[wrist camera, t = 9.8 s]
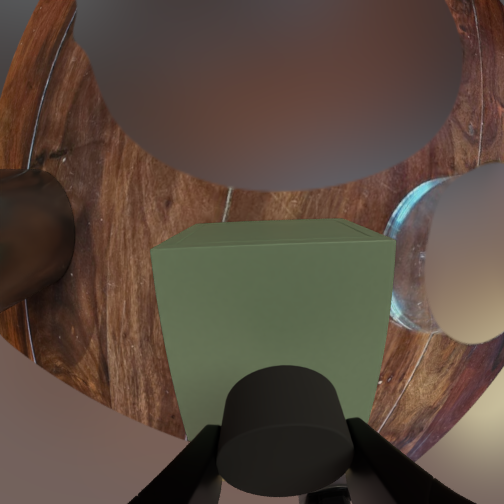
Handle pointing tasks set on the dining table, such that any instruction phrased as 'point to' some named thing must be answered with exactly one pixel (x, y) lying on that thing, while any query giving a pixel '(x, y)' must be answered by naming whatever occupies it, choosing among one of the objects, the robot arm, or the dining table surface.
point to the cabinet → (273, 308)
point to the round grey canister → (32, 233)
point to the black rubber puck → (283, 433)
